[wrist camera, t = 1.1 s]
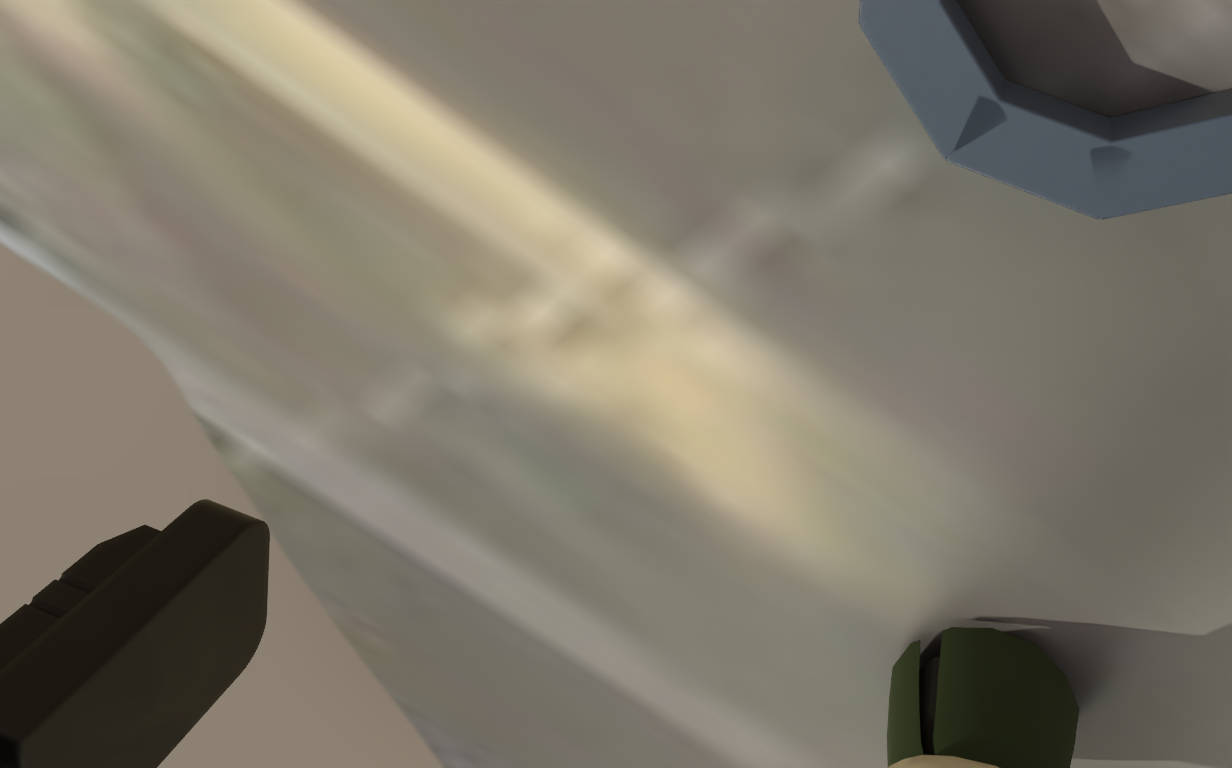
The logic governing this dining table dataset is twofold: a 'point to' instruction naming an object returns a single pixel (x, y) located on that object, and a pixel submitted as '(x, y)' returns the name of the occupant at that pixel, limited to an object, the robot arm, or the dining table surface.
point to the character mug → (980, 705)
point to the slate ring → (1046, 122)
